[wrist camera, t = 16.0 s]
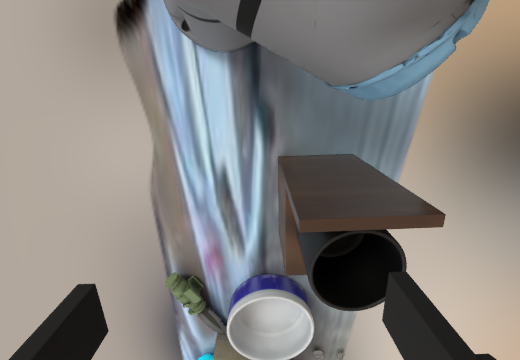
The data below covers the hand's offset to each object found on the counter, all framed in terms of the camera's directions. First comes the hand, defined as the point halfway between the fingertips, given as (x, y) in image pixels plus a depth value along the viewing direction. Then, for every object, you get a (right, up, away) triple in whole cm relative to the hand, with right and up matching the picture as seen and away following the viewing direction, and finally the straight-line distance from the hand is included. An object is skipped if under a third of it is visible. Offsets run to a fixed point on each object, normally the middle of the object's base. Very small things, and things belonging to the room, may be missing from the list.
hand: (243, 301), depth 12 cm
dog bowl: (+2, -19, +40) cm, 44 cm away
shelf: (+10, +3, +33) cm, 34 cm away
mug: (+10, -2, +22) cm, 25 cm away
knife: (-12, -20, +38) cm, 45 cm away
